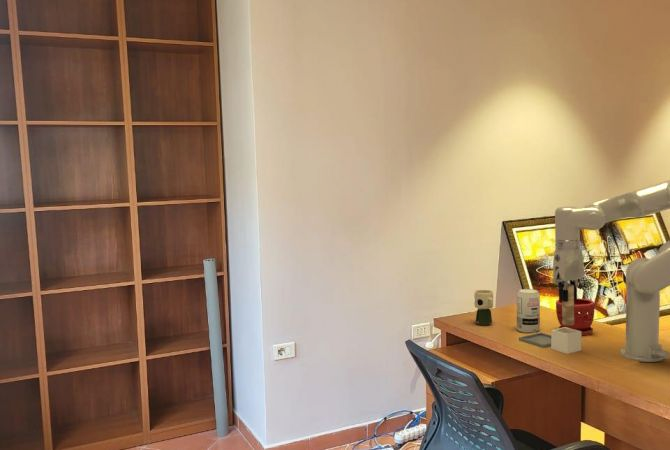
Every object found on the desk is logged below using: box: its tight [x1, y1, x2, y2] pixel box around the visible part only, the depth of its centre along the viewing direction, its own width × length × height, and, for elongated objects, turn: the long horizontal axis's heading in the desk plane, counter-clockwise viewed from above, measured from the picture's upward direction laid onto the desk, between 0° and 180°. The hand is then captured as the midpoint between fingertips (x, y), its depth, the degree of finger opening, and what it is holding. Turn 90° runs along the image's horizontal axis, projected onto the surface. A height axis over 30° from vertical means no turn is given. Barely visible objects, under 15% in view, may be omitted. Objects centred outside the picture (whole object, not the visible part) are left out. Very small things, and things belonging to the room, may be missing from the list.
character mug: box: [473, 289, 494, 326], centre depth 245 cm, size 11×7×13 cm, turn 22°
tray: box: [518, 332, 551, 349], centre depth 219 cm, size 11×11×2 cm
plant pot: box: [555, 297, 595, 337], centre depth 229 cm, size 13×13×12 cm
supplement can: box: [516, 288, 541, 334], centre depth 234 cm, size 8×8×15 cm
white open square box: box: [550, 327, 582, 355], centre depth 208 cm, size 7×7×7 cm
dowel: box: [562, 283, 574, 325], centre depth 207 cm, size 4×4×13 cm
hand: (568, 299), depth 207 cm, fingers closed on dowel, 3 cm apart
